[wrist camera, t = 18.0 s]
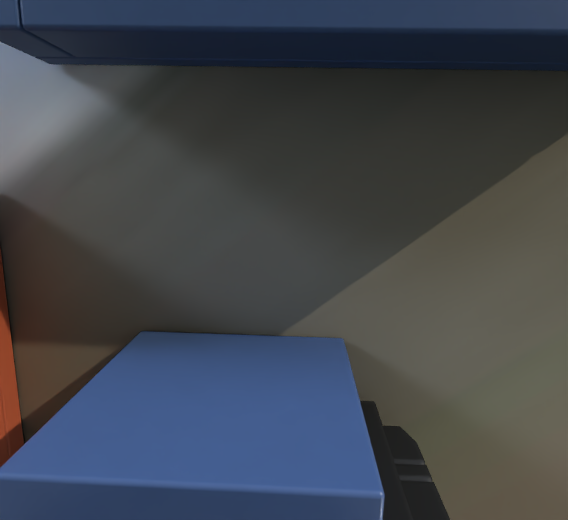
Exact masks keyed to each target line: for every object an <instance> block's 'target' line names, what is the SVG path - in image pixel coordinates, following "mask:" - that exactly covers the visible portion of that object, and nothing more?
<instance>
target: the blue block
mask: <svg viewBox="0 0 568 520" xmlns="http://www.w3.org/2000/svg"><path fill="white" fill-rule="evenodd" d="M384 498H385V494H384V491H383V487H382V483H381V479H380V475H379V472H378V468H377V464H376V460H375V456H374V453H373V449H372V445H371V441H370V437H369V434H368V430H367V426H366V422H365V418H364V415H363V411H362V407H361V403H360V399H359V396H358V392H357V388H356V384H355V380H354V377H353V373H352V369H351V365H350V362H349V358H348V354H347V350H346V346H345V343H344V340H343V339H342V338H320V337H292V336H265V335H237V334H209V333H182V332H154V331H141V332H140V333H139V334H138V335H137V336H136V337H135V338H134V339H132V340H131V341H130V342H129V343H128V344H127V345H126V346H125V347H124V348H123V349H122V350H121V351H120V352H119V353H118V354H117V355H116V356H115V357H114V358H113V359H112V360H111V361H110V362H109V363H108V364H107V365H106V366H105V367H104V368H103V369H101V370H100V371H99V372H98V373H97V374H96V375H95V376H94V377H93V378H92V379H91V380H90V381H89V382H88V383H87V384H86V385H85V386H84V387H83V388H82V389H81V390H80V391H79V392H78V393H77V394H76V395H75V396H74V397H73V398H72V399H70V400H69V401H68V402H67V403H66V404H65V405H64V406H63V407H62V408H61V409H60V410H59V411H58V412H57V413H56V414H55V415H54V416H53V417H52V418H51V419H50V420H49V421H48V422H47V423H46V424H45V425H44V426H43V427H42V428H41V429H39V430H38V431H37V432H36V433H35V434H34V435H33V436H32V437H31V438H30V439H29V440H28V441H27V442H26V443H25V444H24V445H23V446H22V447H21V448H20V449H19V450H18V451H17V452H16V453H15V454H14V455H13V456H12V457H11V458H9V459H8V460H7V461H6V462H5V463H4V464H3V465H2V466H1V467H0V520H383V510H384Z"/></svg>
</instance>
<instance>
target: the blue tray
mask: <svg viewBox="0 0 568 520" xmlns="http://www.w3.org/2000/svg"><path fill="white" fill-rule="evenodd" d="M0 42H3V43H5V44H7V45H9V46H11V47H14V48H16V49H18V50H20V51H23V52H25V53H27V54H29V55H31V56H34V57H36V58H38V59H40V60H42V61H44V62H47V63H49V64H83V65H162V66H240V67H319V68H398V69H477V70H556V71H568V0H0Z"/></svg>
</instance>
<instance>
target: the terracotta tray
mask: <svg viewBox="0 0 568 520" xmlns="http://www.w3.org/2000/svg"><path fill="white" fill-rule="evenodd" d="M23 445H24V440H23V432H22V423H21V415H20V407H19V398H18V390H17V382H16V373H15V365H14V357H13V348H12V340H11V332H10V323H9V315H8V307H7V298H6V290H5V282H4V273H3V265H2V257H1V248H0V467H1V466H2V465H3V464H4V463H5V462H6V461H7V460H8V459H9V458H11V457H12V456H13V455H14V454H15V453H16V452H17V451H18V450H19V449H20V448H21V447H22V446H23Z"/></svg>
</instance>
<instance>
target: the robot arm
mask: <svg viewBox="0 0 568 520" xmlns="http://www.w3.org/2000/svg"><path fill="white" fill-rule="evenodd" d="M360 403H361V407H362V411H363V415H364V418H365V422H366V426H367V430H368V434H369V437H370V441H371V445H372V449H373V453H374V456H375V460H376V464H377V468H378V472H379V475H380V479H381V483H382V487H383V491H384V494H385V498H384V510H383V520H450V518H449V516H448V514H447V512H446V509H445V507H444V505H443V502H442V500H441V498H440V495H439V493H438V491H437V488H436V486H435V484H434V482H432V477H431V475H430V472H429V470H428V468H427V465H425V461H424V459H423V456H422V454H421V452H420V449H419V447H418V445H417V442H415V441H414V440H413V439H412V438H411V437H410V436H409V435H408V434H407V433H406V432H405V431H404V430H403V429H402V428H401V427H400V426H382V423H381V420H380V417H379V414H378V411H377V407H376V404H375V402H374V401H360Z"/></svg>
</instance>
